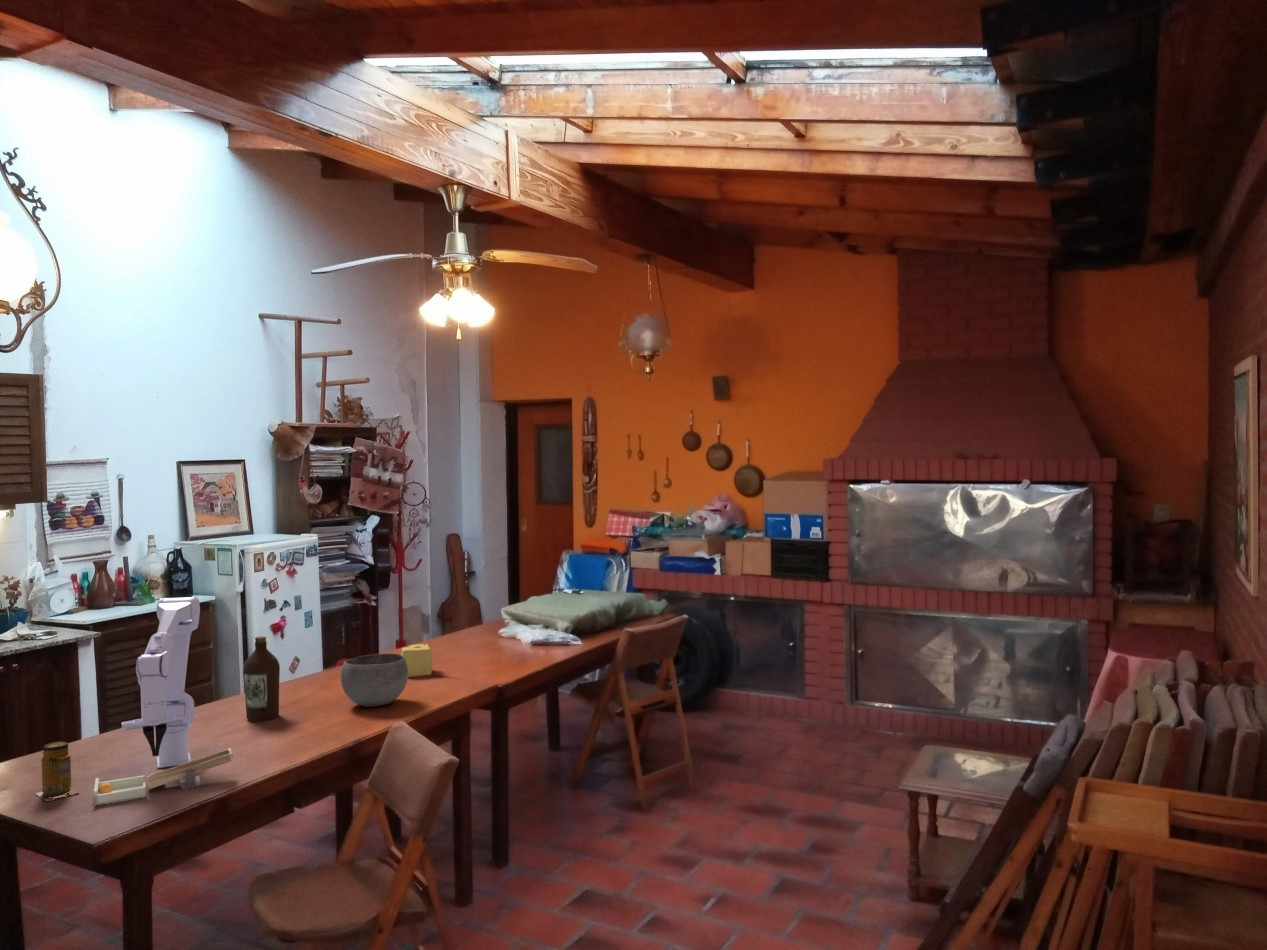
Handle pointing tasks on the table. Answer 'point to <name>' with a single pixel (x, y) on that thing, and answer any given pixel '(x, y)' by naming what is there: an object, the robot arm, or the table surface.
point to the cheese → (418, 659)
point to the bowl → (374, 678)
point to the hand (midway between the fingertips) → (155, 754)
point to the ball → (105, 788)
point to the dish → (120, 790)
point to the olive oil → (261, 683)
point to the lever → (189, 768)
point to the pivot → (190, 780)
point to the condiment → (55, 770)
